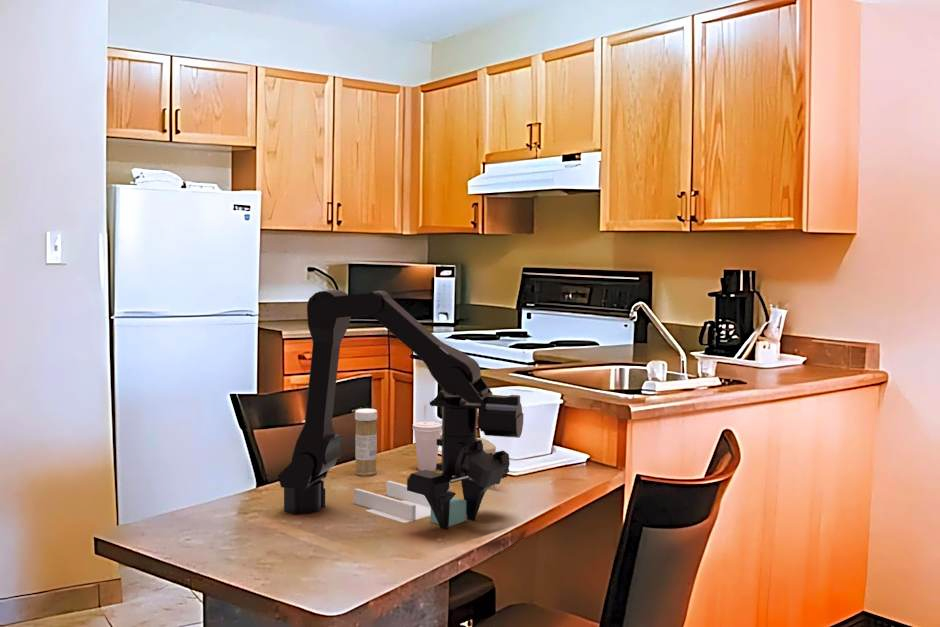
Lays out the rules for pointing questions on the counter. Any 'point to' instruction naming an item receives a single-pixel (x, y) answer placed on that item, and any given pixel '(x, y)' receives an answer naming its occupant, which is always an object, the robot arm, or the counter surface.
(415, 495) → the trough
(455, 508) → the block
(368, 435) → the sprinkles bottle
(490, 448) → the tan upright block
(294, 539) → the counter surface
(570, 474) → the counter surface
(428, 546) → the counter surface
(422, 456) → the smoothie
